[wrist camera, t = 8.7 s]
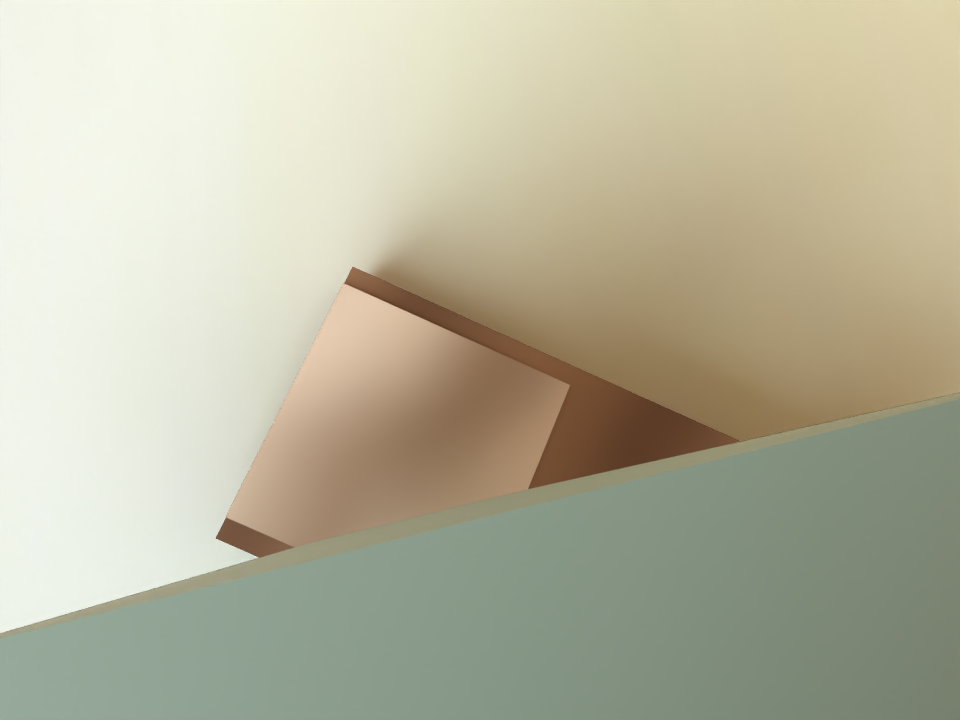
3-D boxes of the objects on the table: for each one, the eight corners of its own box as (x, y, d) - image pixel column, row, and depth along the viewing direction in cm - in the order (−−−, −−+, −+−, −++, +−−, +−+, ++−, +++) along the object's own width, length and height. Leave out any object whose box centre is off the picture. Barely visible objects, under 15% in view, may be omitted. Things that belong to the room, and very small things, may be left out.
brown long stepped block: (954, 560, 21) (1176, 574, 15) (888, 824, 19) (1109, 956, 13) (355, 290, 20) (344, 198, 14) (233, 536, 19) (164, 542, 13)
